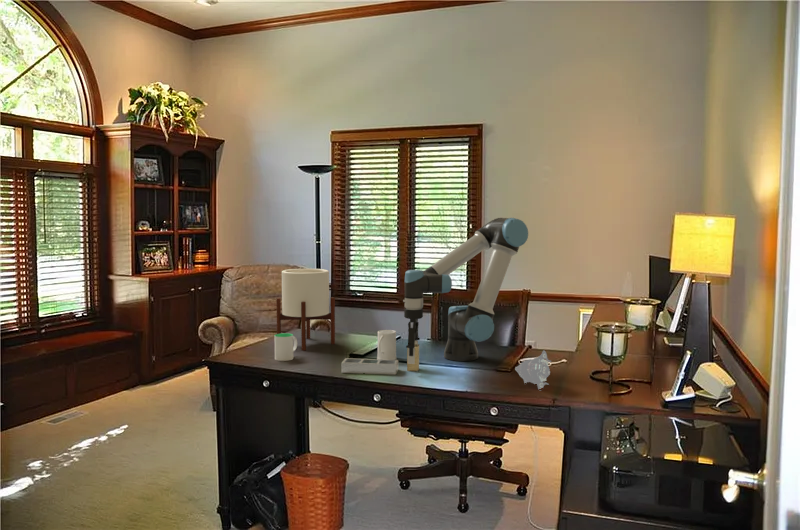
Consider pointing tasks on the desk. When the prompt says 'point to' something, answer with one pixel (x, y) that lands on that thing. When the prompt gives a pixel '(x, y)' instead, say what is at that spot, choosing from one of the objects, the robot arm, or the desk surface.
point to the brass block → (415, 366)
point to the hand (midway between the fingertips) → (412, 359)
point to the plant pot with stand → (305, 300)
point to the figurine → (535, 370)
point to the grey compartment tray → (369, 366)
